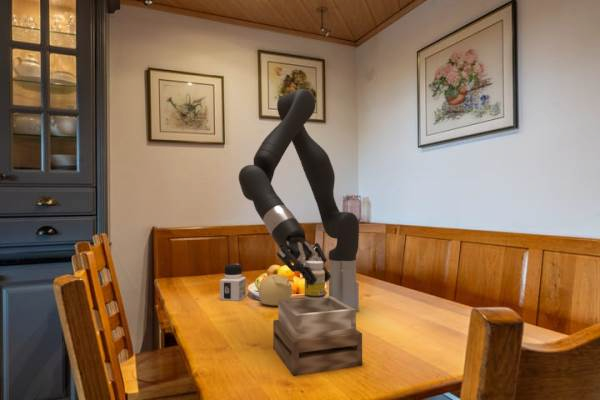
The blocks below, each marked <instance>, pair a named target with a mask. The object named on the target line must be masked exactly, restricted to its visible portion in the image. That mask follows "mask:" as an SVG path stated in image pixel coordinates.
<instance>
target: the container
mask: <svg viewBox="0 0 600 400" xmlns="http://www.w3.org/2000/svg"><path fill="white" fill-rule="evenodd" d="M245 297H247V278H246V277H245V276H243V266H242V265H241V264H239V263H229V264H228V263H227V264H226V265H224V278H222V279H220V280H219V299H220V301H229V302H230V301H231V302H232V301H235V302H240V301H241V300H242V299H244V298H245Z"/></svg>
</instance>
